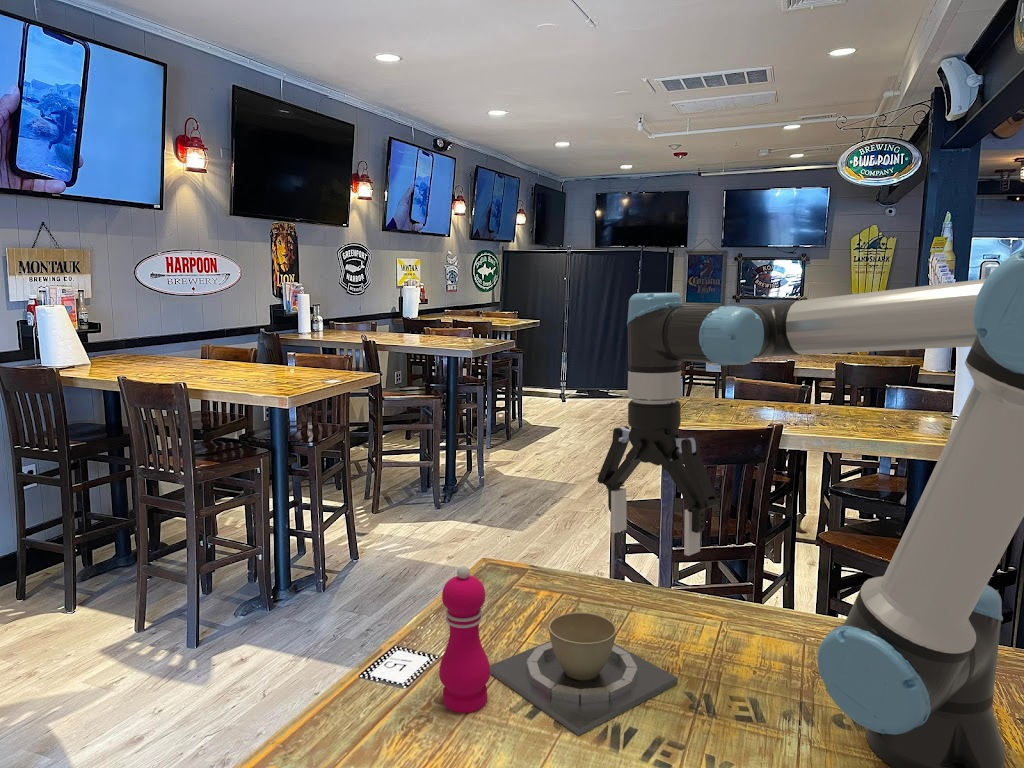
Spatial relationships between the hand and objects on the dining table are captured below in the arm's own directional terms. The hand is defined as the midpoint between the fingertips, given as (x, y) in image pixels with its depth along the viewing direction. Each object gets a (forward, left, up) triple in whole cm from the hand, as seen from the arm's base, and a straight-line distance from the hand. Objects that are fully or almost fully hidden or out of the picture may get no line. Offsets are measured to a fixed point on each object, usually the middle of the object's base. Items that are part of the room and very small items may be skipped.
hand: (653, 541), depth 109 cm
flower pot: (+5, +10, -20) cm, 23 cm away
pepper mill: (+11, +27, -21) cm, 36 cm away
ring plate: (+5, +10, -21) cm, 23 cm away
